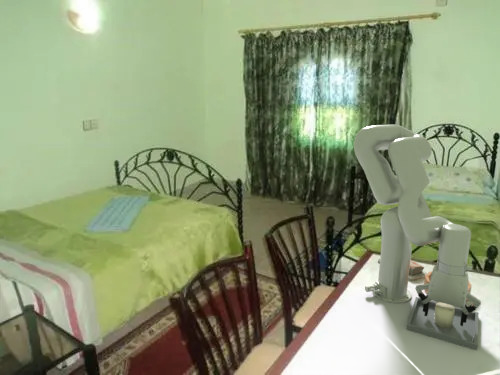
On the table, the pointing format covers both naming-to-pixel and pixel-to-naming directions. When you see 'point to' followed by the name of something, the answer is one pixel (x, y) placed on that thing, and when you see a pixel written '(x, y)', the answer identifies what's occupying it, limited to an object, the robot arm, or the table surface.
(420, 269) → the packaged product
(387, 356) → the table surface
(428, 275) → the bowl
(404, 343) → the table surface
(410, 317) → the tray
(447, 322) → the egg
